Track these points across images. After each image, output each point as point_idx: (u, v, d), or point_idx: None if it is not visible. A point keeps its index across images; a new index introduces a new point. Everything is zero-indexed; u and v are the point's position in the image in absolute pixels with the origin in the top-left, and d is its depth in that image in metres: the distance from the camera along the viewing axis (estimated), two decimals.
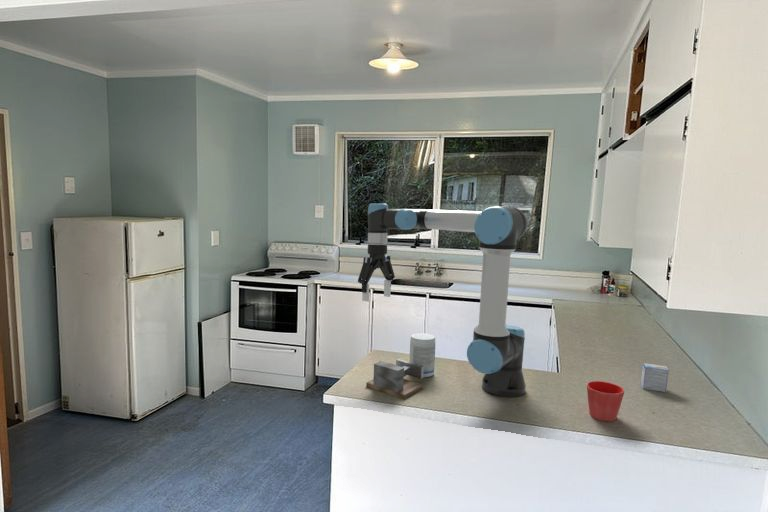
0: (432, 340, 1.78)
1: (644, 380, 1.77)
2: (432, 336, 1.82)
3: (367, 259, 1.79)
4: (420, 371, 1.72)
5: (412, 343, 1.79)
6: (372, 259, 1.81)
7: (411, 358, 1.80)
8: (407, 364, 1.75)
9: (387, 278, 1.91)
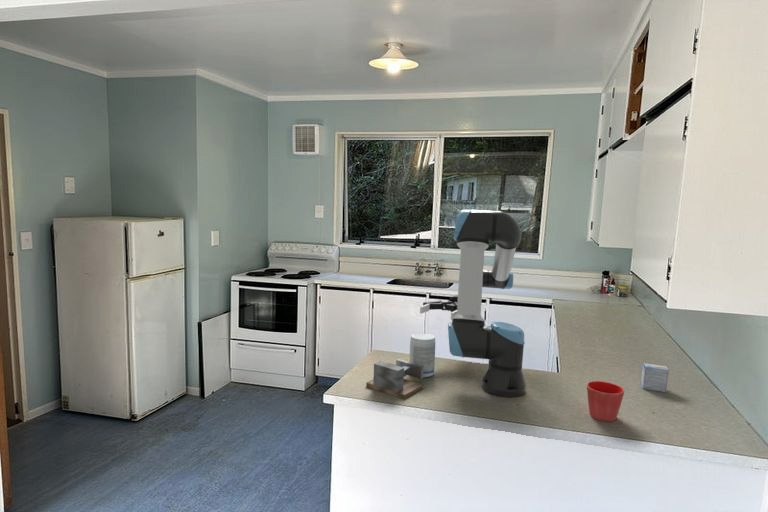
0: (432, 340, 1.78)
1: (644, 380, 1.77)
2: (432, 336, 1.82)
3: None
4: (420, 371, 1.72)
5: (412, 343, 1.79)
6: None
7: (411, 358, 1.80)
8: (407, 364, 1.75)
9: None
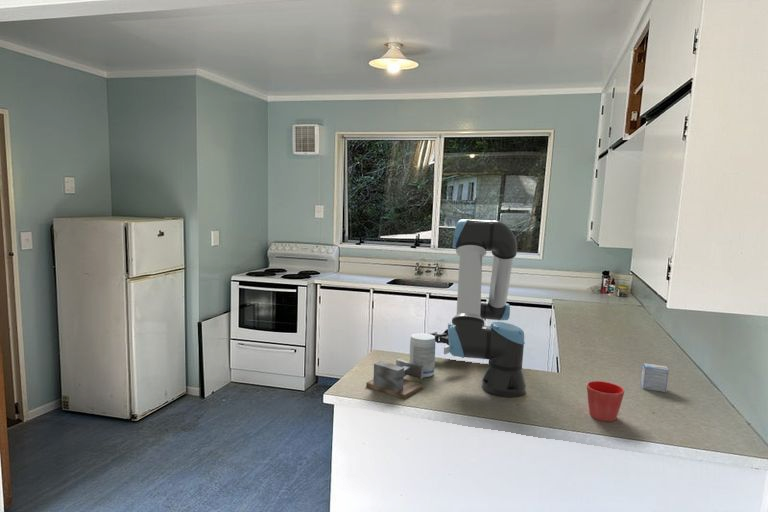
0: (432, 340, 1.78)
1: (644, 380, 1.77)
2: (432, 336, 1.82)
3: None
4: (420, 371, 1.72)
5: (412, 343, 1.79)
6: None
7: (411, 358, 1.80)
8: (407, 364, 1.75)
9: None
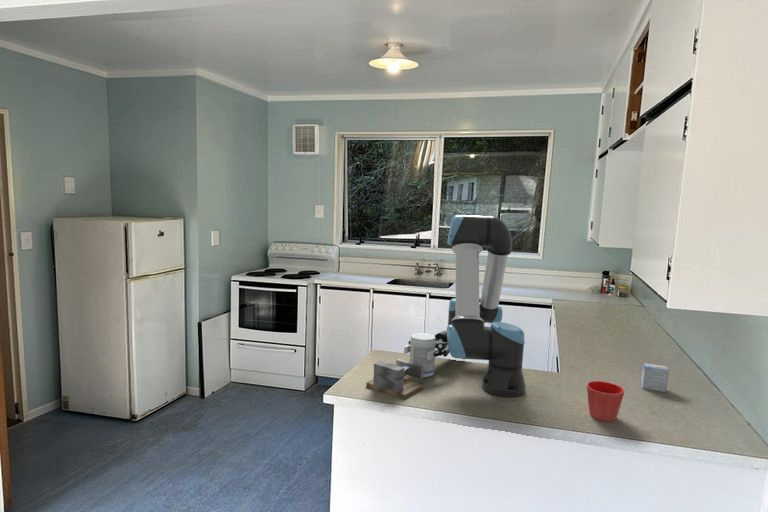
0: (432, 340, 1.78)
1: (644, 380, 1.77)
2: (432, 336, 1.82)
3: None
4: (420, 371, 1.72)
5: (412, 343, 1.79)
6: None
7: (411, 358, 1.80)
8: (407, 364, 1.75)
9: None
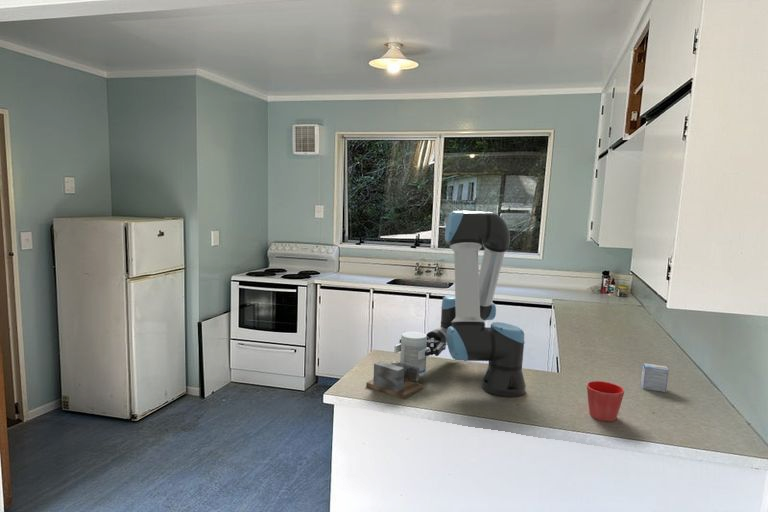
0: (423, 339, 1.73)
1: (644, 380, 1.76)
2: (423, 335, 1.76)
3: None
4: (415, 373, 1.69)
5: (403, 342, 1.74)
6: None
7: (402, 357, 1.75)
8: (402, 366, 1.72)
9: None
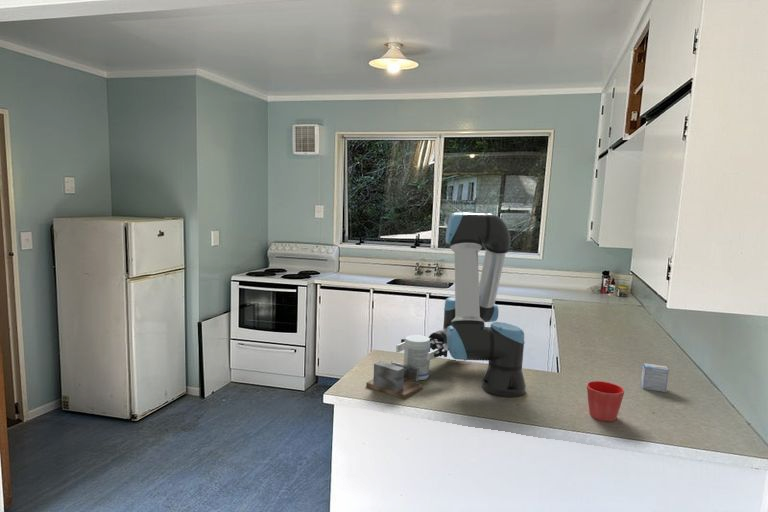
0: (427, 342, 1.75)
1: (644, 380, 1.77)
2: (427, 338, 1.78)
3: None
4: (415, 373, 1.69)
5: (406, 345, 1.76)
6: None
7: (405, 361, 1.77)
8: (402, 366, 1.72)
9: None
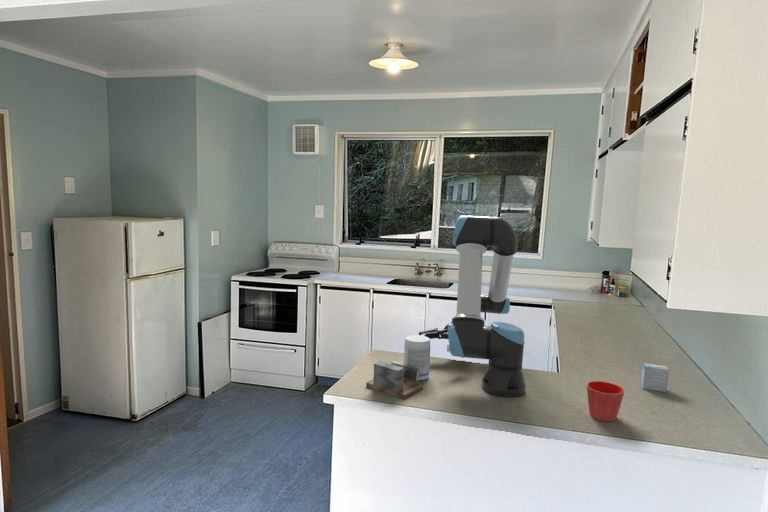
0: (427, 342, 1.75)
1: (644, 380, 1.77)
2: (427, 338, 1.78)
3: None
4: (415, 373, 1.69)
5: (406, 345, 1.76)
6: None
7: (405, 361, 1.77)
8: (402, 366, 1.72)
9: None
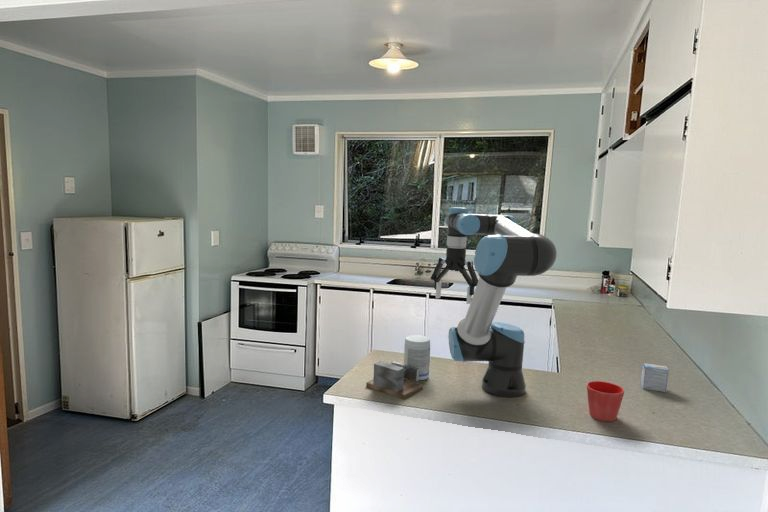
0: (427, 342, 1.75)
1: (644, 380, 1.77)
2: (427, 338, 1.78)
3: None
4: (415, 373, 1.69)
5: (406, 345, 1.76)
6: (445, 260, 1.90)
7: (405, 361, 1.77)
8: (402, 366, 1.72)
9: None
